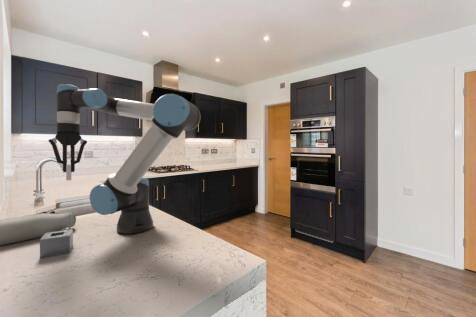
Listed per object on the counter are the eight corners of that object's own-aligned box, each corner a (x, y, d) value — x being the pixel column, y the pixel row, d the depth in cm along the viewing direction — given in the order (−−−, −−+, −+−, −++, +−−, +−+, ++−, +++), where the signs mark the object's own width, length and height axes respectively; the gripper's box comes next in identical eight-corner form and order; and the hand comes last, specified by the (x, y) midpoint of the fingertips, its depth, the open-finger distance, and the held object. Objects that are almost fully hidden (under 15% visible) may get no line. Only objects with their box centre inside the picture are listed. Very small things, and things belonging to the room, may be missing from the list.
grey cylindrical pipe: (-15, 241, 87) (72, 224, 108) (-15, 253, 80) (78, 233, 101) (-16, 217, 86) (73, 205, 107) (-16, 227, 79) (78, 212, 100)
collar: (72, 244, 85) (72, 229, 85) (69, 252, 78) (69, 235, 78) (45, 249, 81) (45, 232, 81) (39, 257, 74) (39, 239, 74)
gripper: (87, 125, 99) (88, 178, 99) (49, 123, 92) (50, 180, 92) (87, 123, 93) (87, 180, 93) (46, 120, 86) (46, 181, 86)
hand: (68, 180), depth 92 cm, fingers closed
